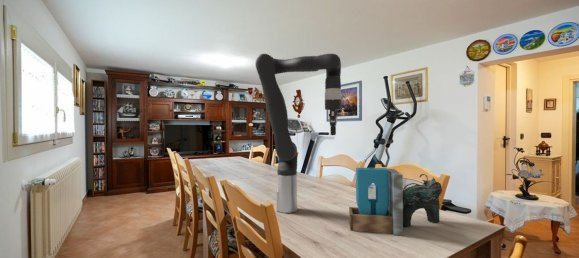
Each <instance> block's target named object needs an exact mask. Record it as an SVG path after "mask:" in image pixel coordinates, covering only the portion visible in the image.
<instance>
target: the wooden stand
mask: <svg viewBox="0 0 579 258" xmlns="http://www.w3.org/2000/svg"><path fill="white" fill-rule="evenodd" d="M388 169H389V207H388V210H387V214H386V216H380V215H360V213H359V209H358V206H357V207H353V206H349V209H348V210H349V211H348V214H349V217H348V218H349V231H352V232H367V233H368V232H369V233H384V234H385V233H387V234H393V236H401V237H403V236H404V227H403V189H404V186H403V185H404V184H403V183H404V182H403V181H404V180H403V179H404V178H403V174H402V173H400V172H399V171H398V170H396V169H395V168H388Z"/></svg>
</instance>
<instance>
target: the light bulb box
mask: <svg viewBox="0 0 579 258" xmlns="http://www.w3.org/2000/svg"><path fill="white" fill-rule="evenodd" d="M368 198H369V199H376V185H375V184H374V183H372V184H371V185H370V186H369V187H368Z"/></svg>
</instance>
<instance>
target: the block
mask: <svg viewBox="0 0 579 258" xmlns="http://www.w3.org/2000/svg"><path fill="white" fill-rule="evenodd" d="M389 169H390V168H387V167H356V168H355V193H356V194H355V200H356V201H355V202H356V205H357V208H358V209H359V213H360V215H380V216H386V214H387V210H388V207H389ZM372 183H374V184H375V185H376V199H369V198H368V187H369V186H370V185H371V184H372Z"/></svg>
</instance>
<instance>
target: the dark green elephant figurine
mask: <svg viewBox="0 0 579 258" xmlns="http://www.w3.org/2000/svg"><path fill="white" fill-rule="evenodd" d="M422 176H425V177H426V180H425V179H422V181H423V183H422V184H418V183H415V182H412V183H408V184H407V185H405V186H403V228H409V227H411V226H412V224H411V223H412V217H413V215H414V213H415V212H416V211H417V210H420V209H424V211H425V214H426V217H427V221H428V222H430V223H432V224H435V223H439V222H440V206H441V204H440V196H441V194H442V192H443V187H442V184H441V183H440V182H439V181H437V180H436V179H435V177H432V178H431V180H429V179H428V178H429V177H428V176H427V174H425V173H421V174H420V175H419V178H422Z"/></svg>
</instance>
